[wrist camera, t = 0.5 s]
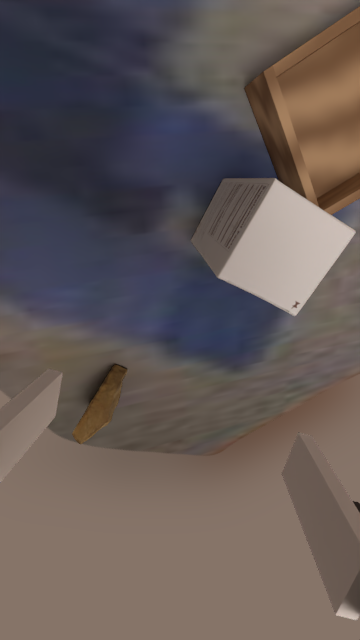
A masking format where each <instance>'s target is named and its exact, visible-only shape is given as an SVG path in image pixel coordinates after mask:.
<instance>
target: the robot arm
mask: <svg viewBox="0 0 360 640" xmlns="http://www.w3.org/2000/svg"><path fill="white" fill-rule="evenodd" d="M62 374H63V372H60V371H56V370H52V369H48V370H47V371H45V372H44V373H43V374H42V375H41V376H39V377H38V378H37V379H36V380H35V381H33V382H32V383H31V384H30V385H29V386H27V387H26V388H25V389H24V390H23V391H21V392H20V393H19V394H18V395H16V396H15V397H14V398H13V399H12V400H10V401H9V402H8V403H7V404H6V405H5V406H3V407H2V408H1V409H0V483H1V481H2V480H3V479H4V478H5V477H6V475H7V474H8V473H9V472H10V470H11V469H12V468H13V467H14V466H15V465H16V463H17V462H18V461H19V460H20V458H21V457H22V456H23V455H24V454H25V452H26V451H27V450H28V449H29V448H30V446H31V445H32V444H33V443H34V441H35V440H36V439H37V438H38V437H39V436H40V434H41V433H42V432H43V431H44V430H45V428H46V427H47V426H48V425H49V423H50V422H51V421H52V420H53V419H54V417H55V415H56V409H57V403H58V397H59V391H60V385H61V379H62ZM282 476H283V478H284V481H285V484H286V486H287V489H288V492H289V494H290V497H291V499H292V502H293V505H294V507H295V510H296V513H297V515H298V518H299V520H300V523H301V526H302V528H303V531H304V534H305V536H306V539H307V541H308V544H309V546H310V549H311V552H312V555H313V557H314V560H315V562H316V565H317V568H318V570H319V573H320V575H321V578H322V581H323V583H324V586H325V588H326V591H327V594H328V596H329V599H330V601H331V604H332V607H333V609H334V612H335V615H338V616H342V617H346V618H350V619H354V620H357V619H358V617H359V615H360V504H359V503H358V502H354V501H352V500H351V498H350V496H349V495H348V493H347V492H346V490H345V488H344V487H343V485H342V484H341V482H340V480H339V479H338V477H337V475H336V474H335V472H334V471H333V469H332V468H331V466H330V464H329V463H328V461H327V459H326V458H325V456H324V454H323V453H322V451H321V450H320V448H319V446H318V445H317V443H316V442H315V440H314V439H313V437H312V436H311V435H306V434H303V433H298V434H297V437H296V440H295V442H294V445H293V447H292V449H291V452H290V454H289V457H288V459H287V462H286V464H285V467H284V469H283V472H282Z"/></svg>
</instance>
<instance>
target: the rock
mask: <svg viewBox="0 0 360 640" xmlns="http://www.w3.org/2000/svg"><path fill="white" fill-rule="evenodd" d="M126 373H127V369H125V368H122V367H121V366H119V365H114V366H113V367H112V369H111V371H110V372H109V373H108V375H107V377H106V379H105V380H104V382H103V384H102V385H101V387H100V388H99V390H98V392H97V393H96V395H95V397H94V398H93V399H92V401H91V402H90V404H89V406H88V408H87V409H86V411H85V413H84V415H83V416H82V418H81V420H80V421H79V423H78V424H77V426H76V428H75V429H74V431H73V433H72V435H73V436H74V438H75V439H76V441H77V442H78V443H79V444H82V443H83V442H84V441H87V440H88V439H89V438H91V437H92V436H93V435H94V434H95V433H96V432H97V431H98V430H100V429H101V428H103V427H104V426H106V425H107V424H108V423H109V422H110V421H111V419H112V415H113V412H114V409H115V407H116V406H117V404H118V400H119V398H120V393H121V391H120V390H121V387H122V381H123V379H124V377H125V375H126Z"/></svg>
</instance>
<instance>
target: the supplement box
mask: <svg viewBox="0 0 360 640" xmlns="http://www.w3.org/2000/svg"><path fill="white" fill-rule="evenodd" d="M355 232H356V231H355V230H353V229H352V228H350V227H349V226H347V225H346V224H344V223H343V222H341V221H339V220H338V219H336V218H335V217H333V216H332V215H330V214H329V213H327V212H326V211H324V210H322V209H321V208H319V207H318V206H316V205H315V204H313V203H312V202H310V201H309V200H307V199H306V198H304V197H303V196H301V195H300V194H298V193H296V192H295V191H293V190H292V189H290V188H289V187H287V186H286V185H284V184H283V183H281V182H280V181H278V180H277V179H276V178H226V179H223V180H222V182H221V184H220V186H219V187H218V189H217V191H216V193H215V195H214V197H213V199H212V201H211V203H210V205H209V206H208V208H207V210H206V212H205V214H204V216H203V218H202V220H201V222H200V224H199V226H198V227H197V229H196V231H195V233H194V235H193V237H192V239H191V242H192V244H193V245H194V246H195V248H196V249H197V250H198V252H199V253H200V254H201V255H202V256H203V258H204V259H205V261H206V262H207V264H208V265H209V267H210V268H211V269H212V271H213V272H214V273H215V275H216V276H217V278H219V279H222V280H224V281H226V282H228V283H230V284H233V285H235V286H237V287H239V288H241V289H243V290H245V291H247V292H249V293H252V294H254V295H256V296H258V297H260V298H262V299H264V300H266V301H268V302H269V303H271V304H273V305H275V306H277V307H279V308H281V309H283V310H284V311H286V312H288V313H290V314H291V315H293V316H296V315H297V313H298V312H299V311H300V309H301V308H302V307H303V305H304V304H305V302H306V301H307V300H308V298H309V297H310V295H311V294H312V293H313V291H314V290H315V289H316V287H317V286H318V284H319V283H320V282H321V280H322V279H323V277H324V276H325V275H326V273H327V272H328V270H329V269H330V268H331V266H332V265H333V264H334V262H335V261H336V259H337V258H338V257H339V255H340V254H341V253H342V251H343V250H344V248H345V247H346V246H347V244H348V243H349V241H350V240H351V238H352V237H353V236H354V234H355Z"/></svg>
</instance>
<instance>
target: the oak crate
mask: <svg viewBox="0 0 360 640" xmlns="http://www.w3.org/2000/svg"><path fill="white" fill-rule="evenodd" d="M244 89H245V92H246V94H247V97H248V100H249V102H250V105H251V108H252V110H253V113H254V116H255V118H256V121H257V124H258V126H259V129H260V132H261V134H262V137H263V140H264V142H265V145H266V147H267V150H268V153H269V155H270V158H271V161H272V163H273V166H274V169H275V171H276V174H277V177H278V179H279V181H280V182H281V183H283V184H284V185H286V186H287V187H289V188H290V189H292V190H293V191H295V192H296V193H298V194H300V195H301V196H303V197H304V198H306V199H307V200H309V201H310V202H312V203H313V204H315V205H316V206H318V207H319V208H321V209H322V210H324V211H326V212H327V213H329V214H330V215H332V214H334V213H335V212H337V211H339V210H341V209H342V208H344V207H346V206H347V205H349V204H351V203H352V202H354V201H356V200H357V199H359V198H360V6H359V7H358V8H357V9H355V10H354V11H352V12H351V13H349V14H348V15H346V16H345V17H343V18H342V19H340V20H339V21H337V22H336V23H334V24H333V25H331V26H330V27H328V28H327V29H326V30H324V31H323V32H321V33H320V34H318V35H317V36H315V37H314V38H312V39H311V40H309V41H308V42H306V43H305V44H303V45H302V46H300V47H299V48H297V49H296V50H295V51H293V52H292V53H290V54H289V55H287V56H286V57H284V58H283V59H281V60H280V61H278V62H277V63H275V64H274V65H272V66H271V67H269V68H268V69H267V70H265V71H264V72H262V73H261V74H260V75H259V76H258V77H257V78H255V79H254V80H253V81H252V82H251V83H250V84H248V85H247V86H246V87H245V88H244Z"/></svg>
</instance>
